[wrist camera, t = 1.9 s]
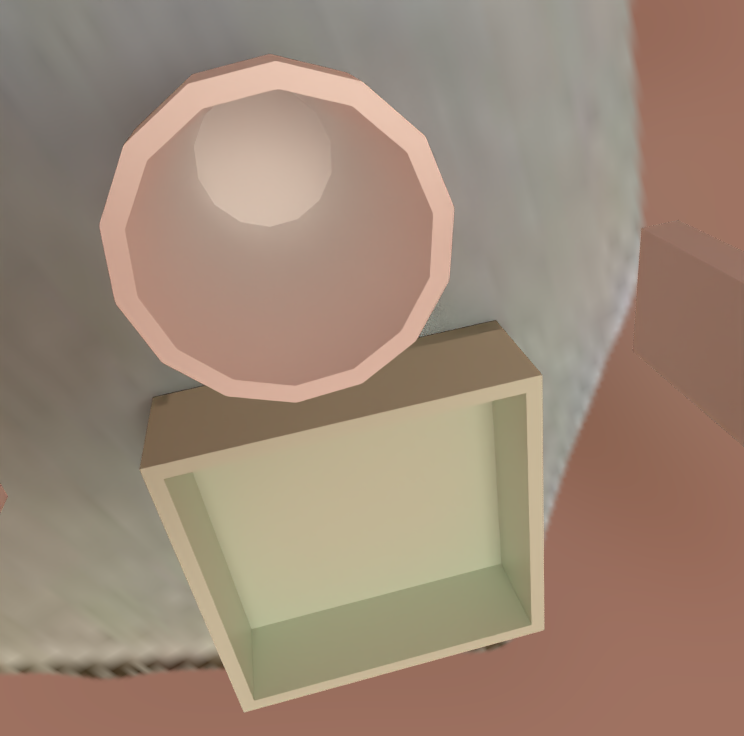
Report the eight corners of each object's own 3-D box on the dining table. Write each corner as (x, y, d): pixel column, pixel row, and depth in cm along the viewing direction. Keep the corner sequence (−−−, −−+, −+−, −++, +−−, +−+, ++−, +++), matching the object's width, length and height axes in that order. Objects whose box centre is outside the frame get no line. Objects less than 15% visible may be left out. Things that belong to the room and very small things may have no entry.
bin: (241, 627, 43) (243, 712, 38) (152, 397, 33) (139, 469, 28) (507, 557, 44) (544, 629, 39) (496, 320, 35) (542, 374, 30)
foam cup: (136, 35, 25) (65, 62, 14) (366, 36, 27) (464, 59, 16) (171, 264, 30) (139, 418, 19) (366, 253, 32) (441, 388, 20)
